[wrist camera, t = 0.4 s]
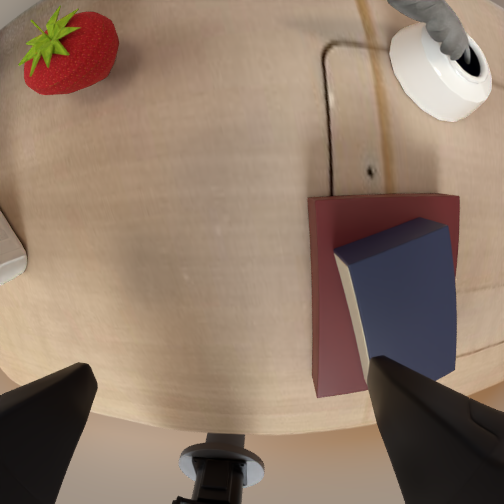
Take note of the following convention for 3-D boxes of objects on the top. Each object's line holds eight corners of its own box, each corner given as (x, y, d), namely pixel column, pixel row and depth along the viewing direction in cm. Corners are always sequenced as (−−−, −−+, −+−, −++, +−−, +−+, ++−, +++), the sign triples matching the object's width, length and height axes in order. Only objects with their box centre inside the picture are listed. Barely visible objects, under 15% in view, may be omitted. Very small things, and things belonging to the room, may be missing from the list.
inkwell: (475, 136, 17) (558, 128, 8) (273, 83, 18) (280, 6, 8) (467, 50, 15) (531, 18, 5) (281, -8, 15) (288, -90, 6)
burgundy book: (422, 356, 22) (435, 373, 19) (312, 376, 23) (317, 398, 20) (438, 193, 19) (459, 196, 16) (307, 197, 19) (314, 200, 16)
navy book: (434, 347, 19) (455, 370, 15) (363, 379, 19) (376, 408, 16) (419, 216, 16) (448, 224, 13) (331, 249, 17) (347, 265, 14)
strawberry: (69, 64, 17) (-4, 31, 7) (142, 31, 16) (83, -32, 7) (69, 120, 18) (-17, 102, 9) (146, 88, 18) (72, 37, 8)
